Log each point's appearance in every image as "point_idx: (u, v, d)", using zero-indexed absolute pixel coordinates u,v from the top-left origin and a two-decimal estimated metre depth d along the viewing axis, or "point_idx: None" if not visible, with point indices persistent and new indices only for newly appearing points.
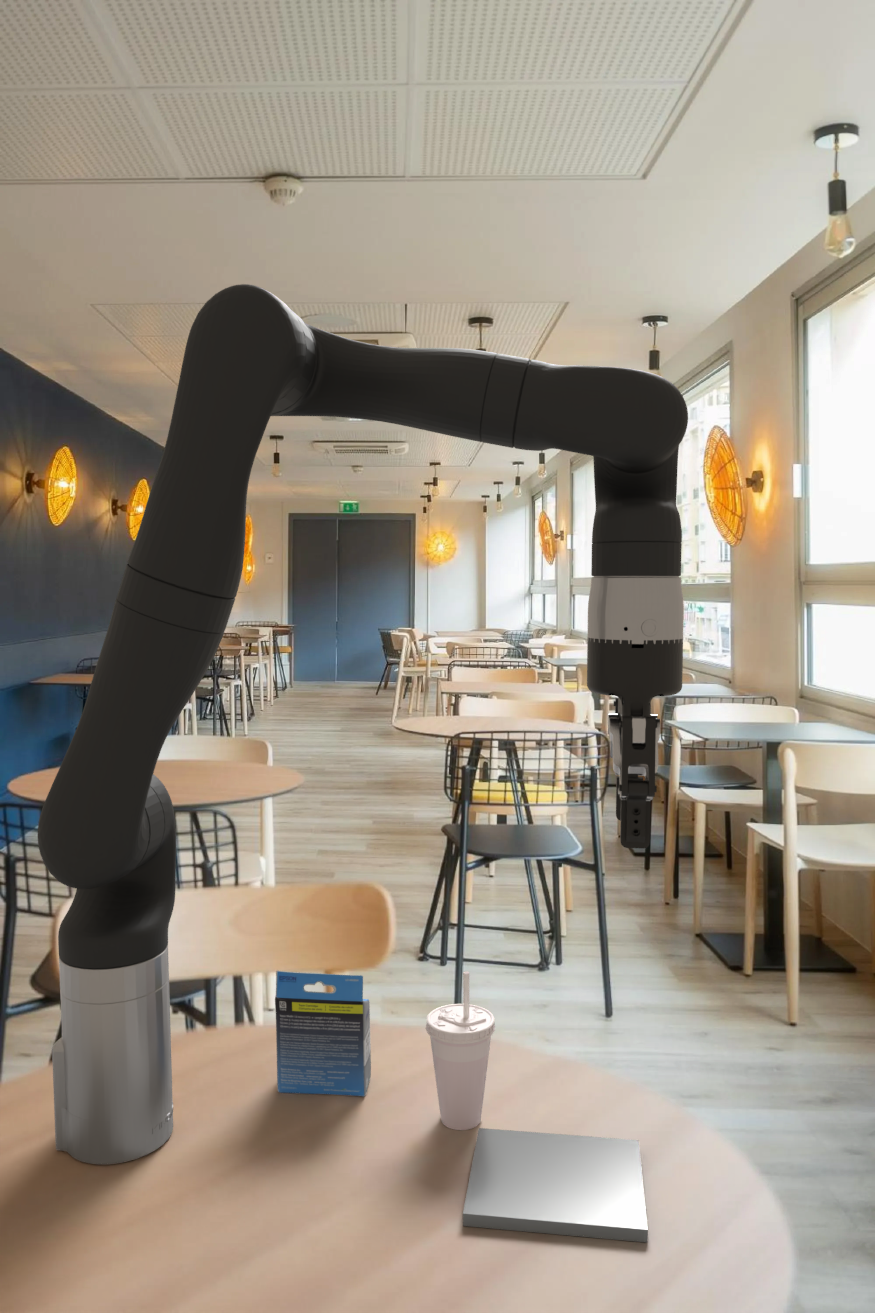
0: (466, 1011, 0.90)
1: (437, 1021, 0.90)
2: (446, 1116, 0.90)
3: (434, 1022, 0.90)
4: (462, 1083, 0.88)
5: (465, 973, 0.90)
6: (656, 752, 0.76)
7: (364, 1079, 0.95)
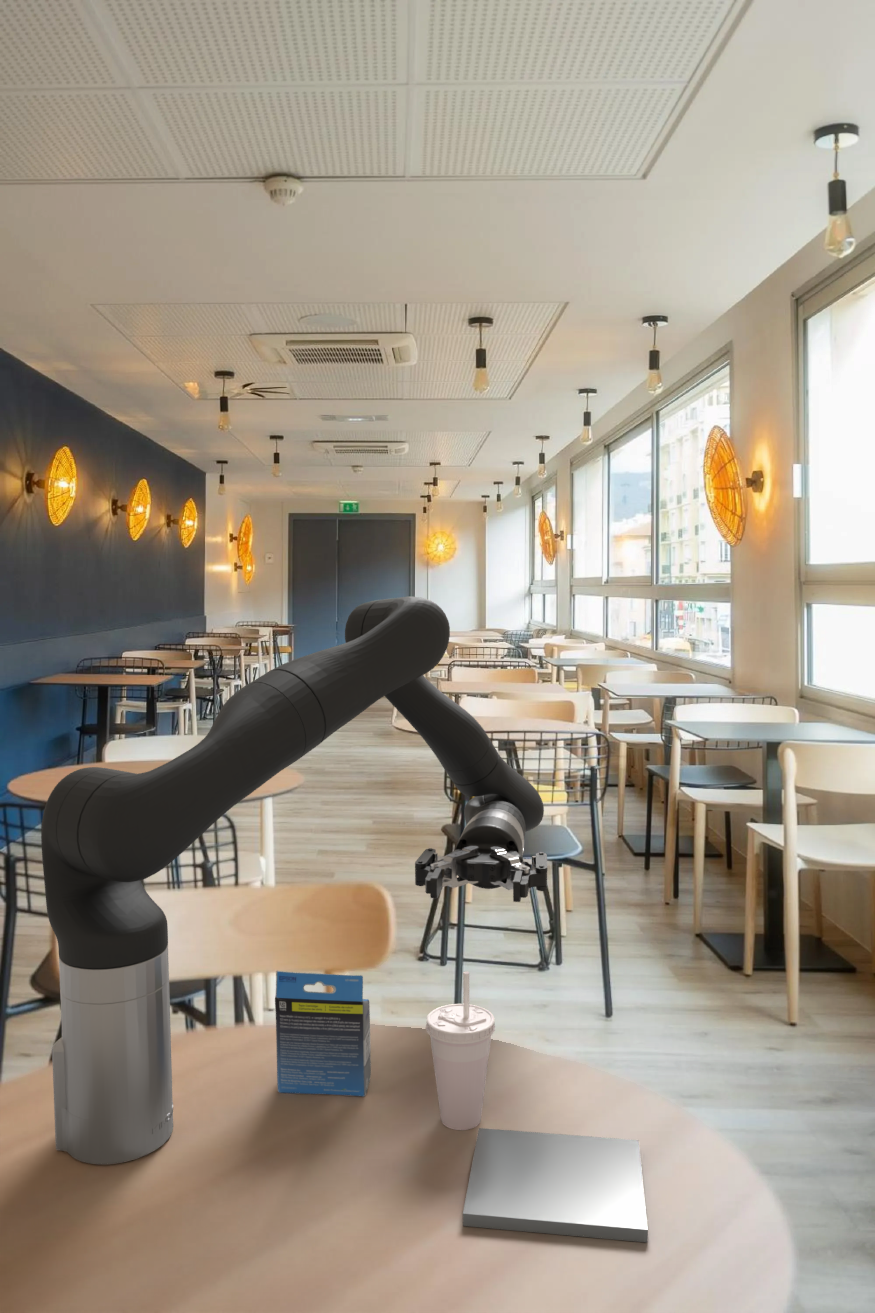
0: (466, 1011, 0.90)
1: (437, 1021, 0.90)
2: (446, 1116, 0.90)
3: (434, 1022, 0.90)
4: (462, 1083, 0.88)
5: (465, 973, 0.90)
6: None
7: (364, 1079, 0.95)
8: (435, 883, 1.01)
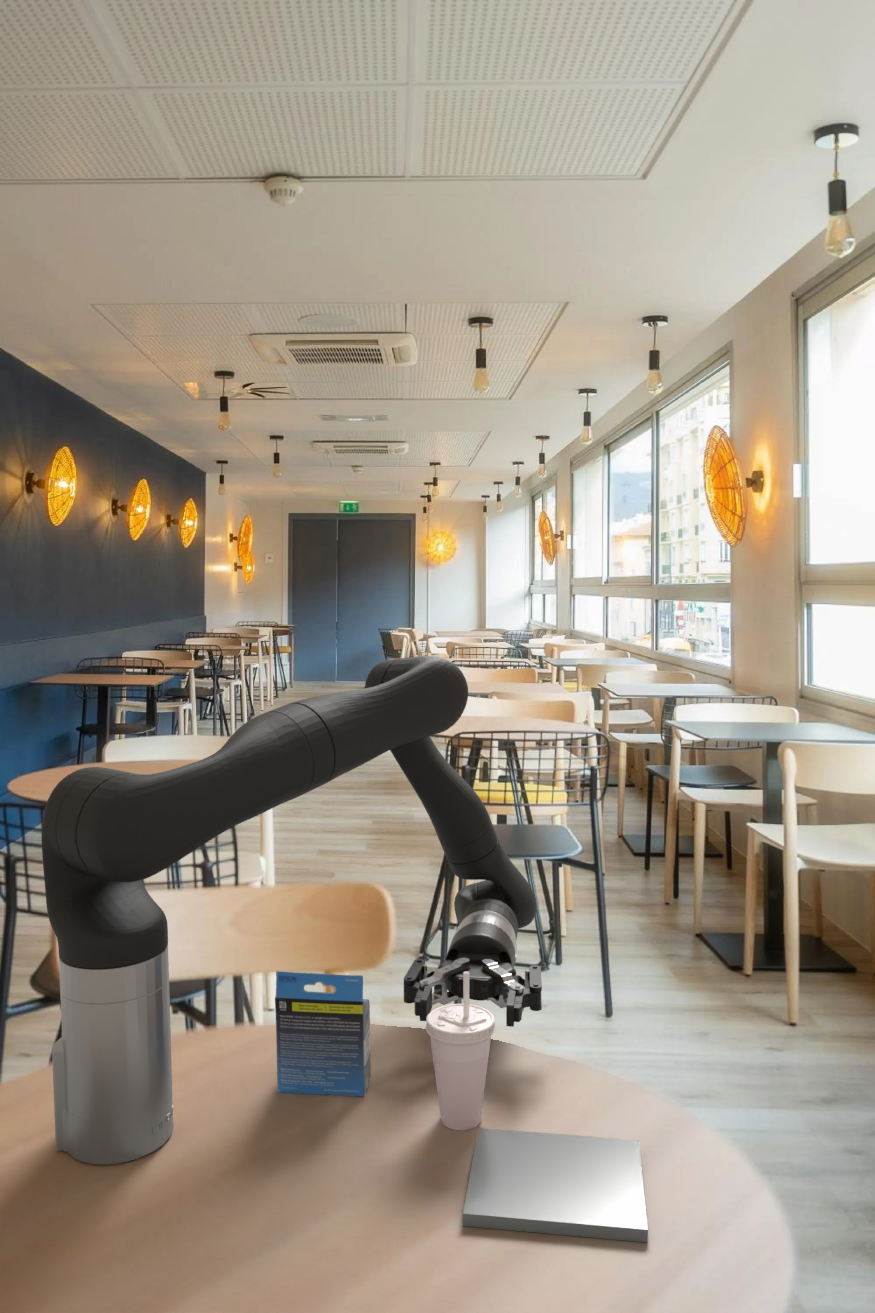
0: (466, 1011, 0.90)
1: (437, 1021, 0.90)
2: (446, 1116, 0.90)
3: (434, 1022, 0.90)
4: (462, 1083, 0.88)
5: (465, 973, 0.90)
6: None
7: (364, 1079, 0.95)
8: (425, 1006, 0.97)
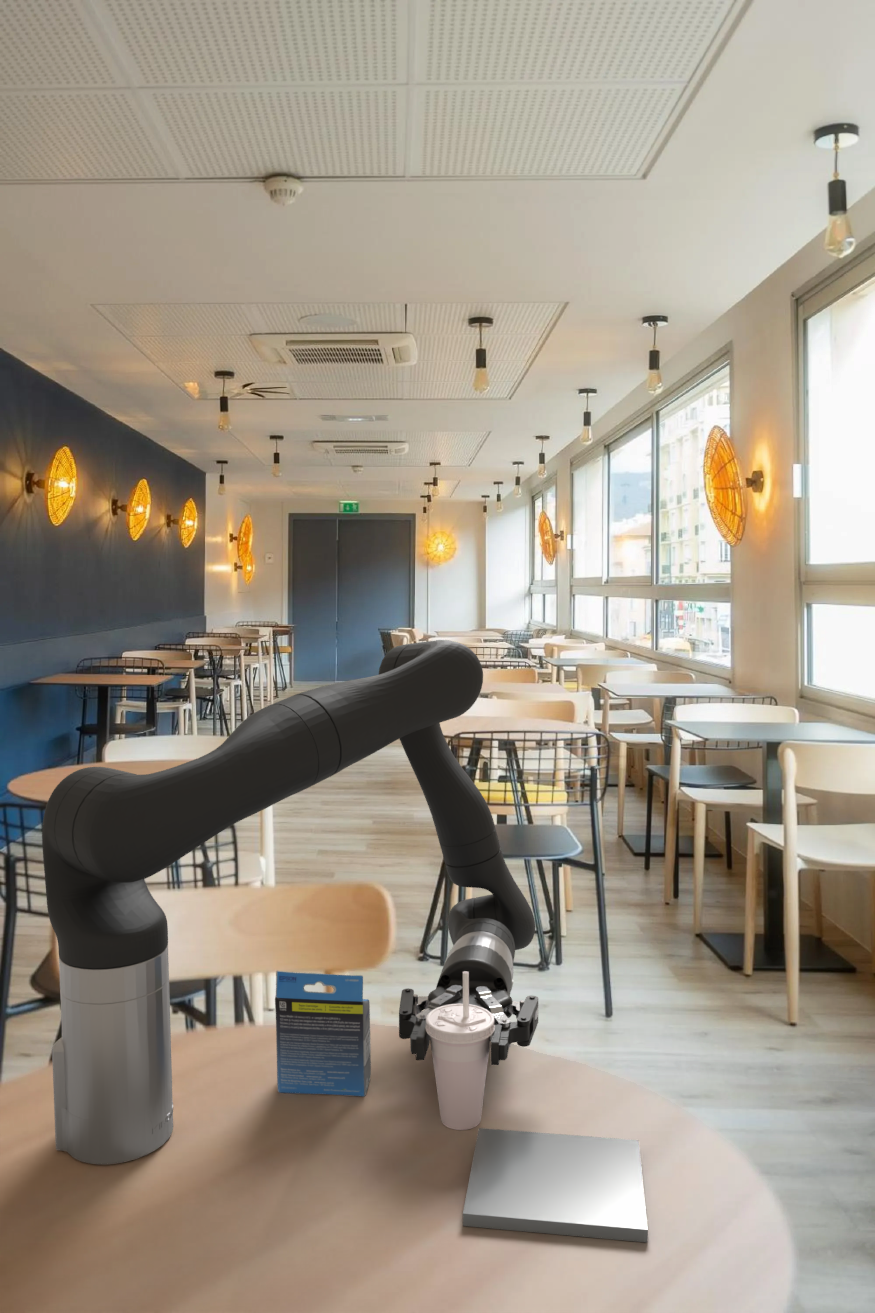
0: (465, 1011, 0.90)
1: (436, 1021, 0.90)
2: (446, 1116, 0.90)
3: (434, 1022, 0.90)
4: (462, 1083, 0.88)
5: (464, 973, 0.90)
6: None
7: (364, 1079, 0.95)
8: (421, 1044, 0.89)
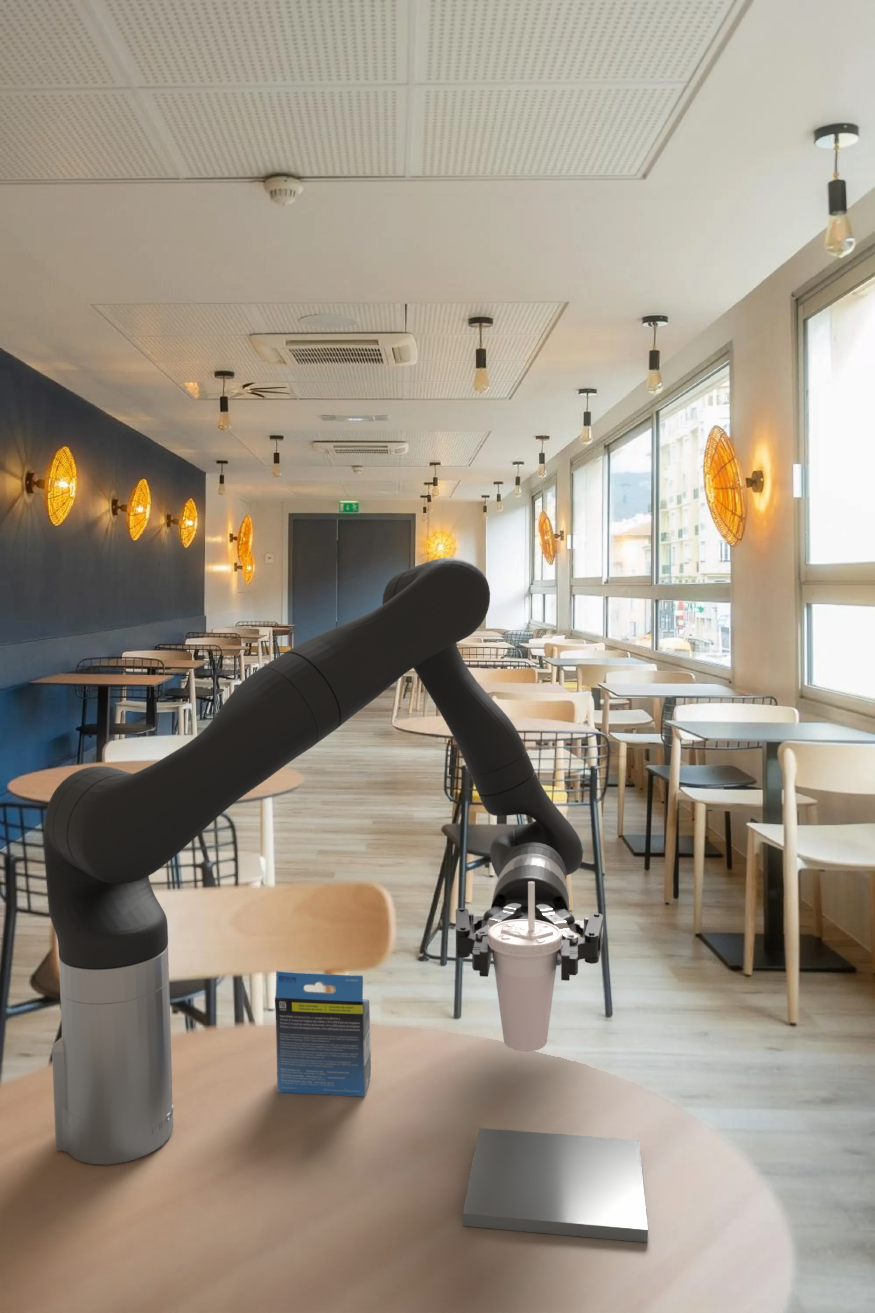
0: (531, 923, 0.83)
1: (500, 935, 0.83)
2: (511, 1036, 0.83)
3: (497, 936, 0.83)
4: (529, 1000, 0.82)
5: (530, 883, 0.83)
6: None
7: (364, 1079, 0.95)
8: (486, 958, 0.82)
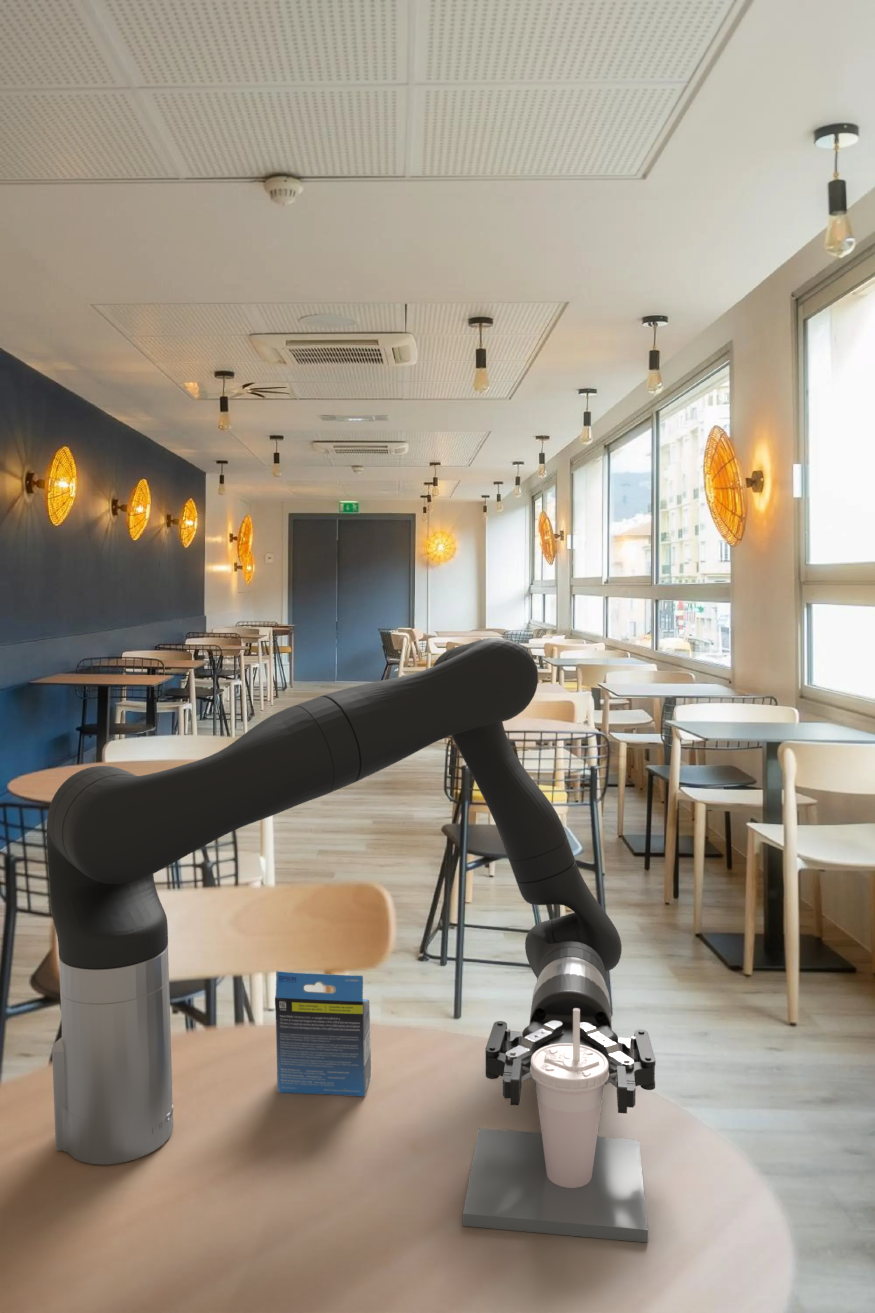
0: (576, 1053, 0.80)
1: (543, 1065, 0.80)
2: (554, 1172, 0.79)
3: (541, 1066, 0.79)
4: (574, 1136, 0.78)
5: (575, 1010, 0.80)
6: None
7: (364, 1079, 0.95)
8: (517, 1087, 0.79)
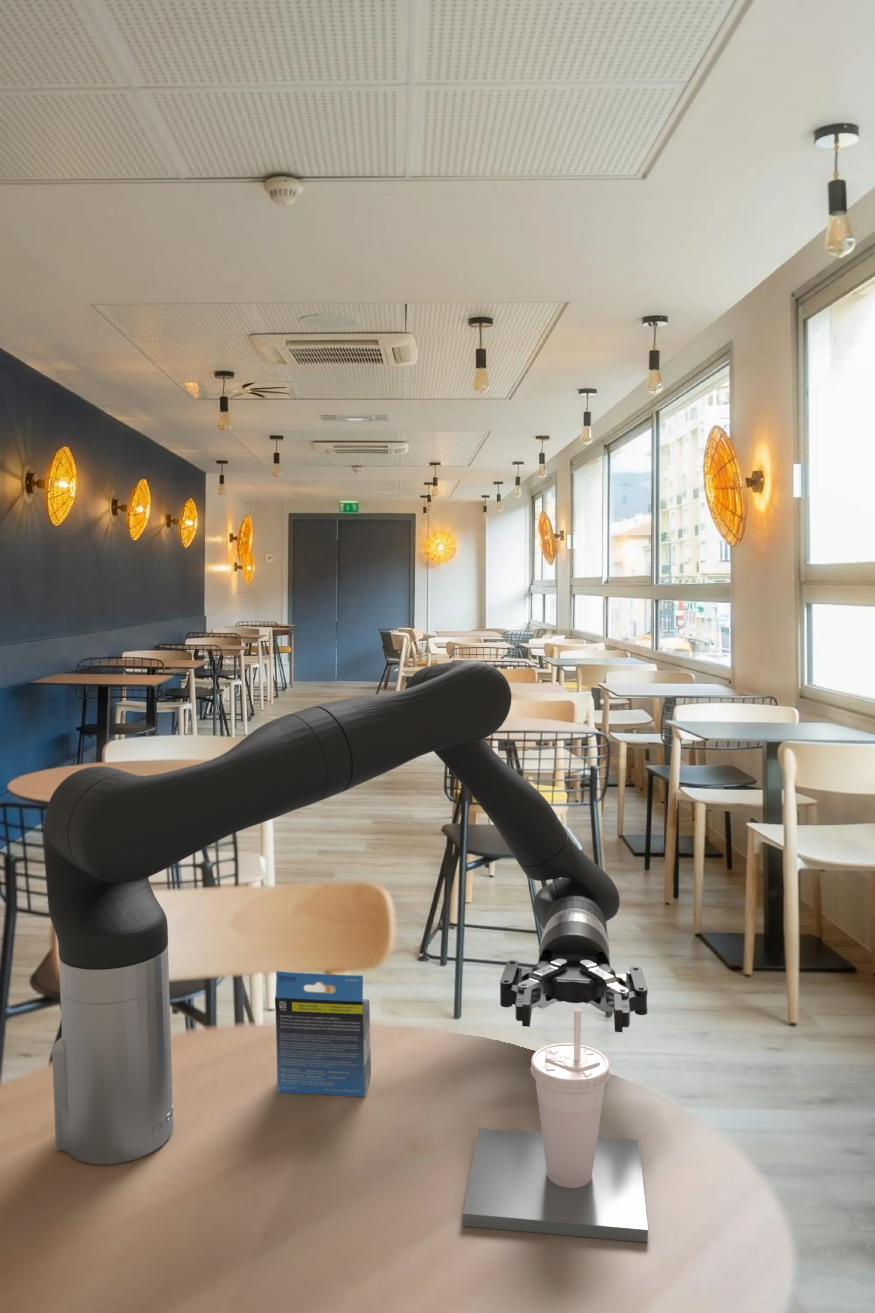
0: (577, 1053, 0.80)
1: (544, 1065, 0.80)
2: (554, 1172, 0.79)
3: (541, 1066, 0.79)
4: (575, 1136, 0.78)
5: (576, 1011, 0.80)
6: None
7: (364, 1079, 0.95)
8: (528, 1010, 0.92)
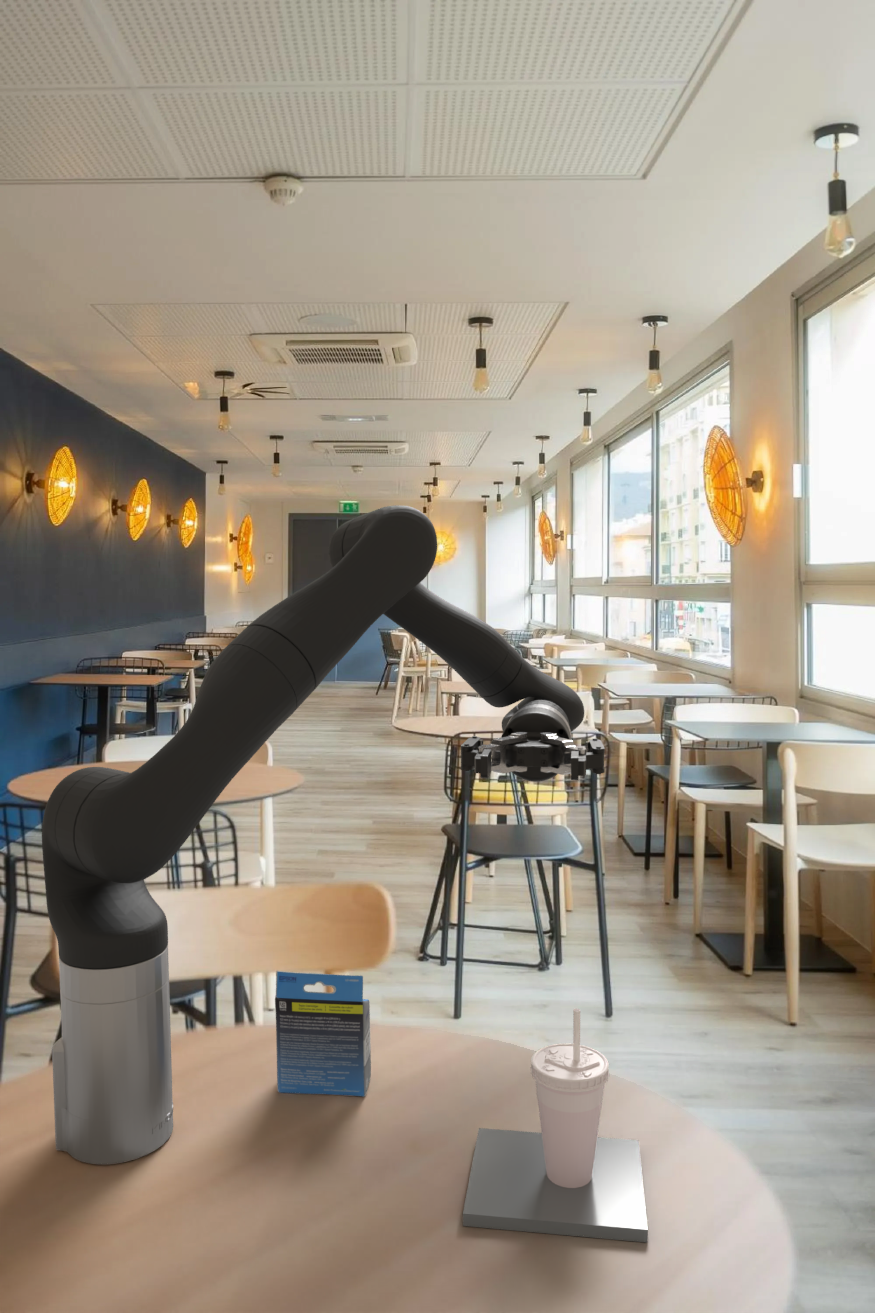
0: (577, 1053, 0.80)
1: (544, 1065, 0.80)
2: (554, 1172, 0.79)
3: (541, 1066, 0.79)
4: (575, 1136, 0.78)
5: (576, 1011, 0.80)
6: None
7: (364, 1079, 0.95)
8: (486, 761, 0.93)
